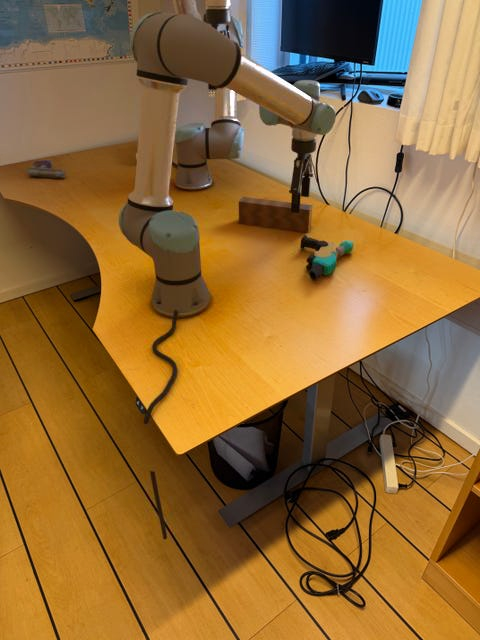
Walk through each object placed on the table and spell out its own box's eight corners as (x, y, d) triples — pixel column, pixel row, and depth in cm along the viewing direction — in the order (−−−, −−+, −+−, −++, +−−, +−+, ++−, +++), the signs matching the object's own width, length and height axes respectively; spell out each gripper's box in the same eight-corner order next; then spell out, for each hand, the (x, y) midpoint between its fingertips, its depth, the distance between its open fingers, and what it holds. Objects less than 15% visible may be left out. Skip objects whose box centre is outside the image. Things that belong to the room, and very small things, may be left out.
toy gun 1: (79, 169, 213) (62, 180, 201) (41, 166, 216) (22, 178, 205) (77, 160, 211) (60, 171, 199) (39, 158, 214) (20, 169, 202)
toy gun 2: (277, 262, 133) (328, 274, 127) (310, 227, 151) (356, 237, 146) (276, 276, 135) (326, 289, 130) (309, 240, 154) (354, 250, 148)
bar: (310, 227, 162) (312, 205, 157) (307, 232, 159) (309, 210, 154) (243, 218, 169) (242, 196, 164) (238, 223, 165) (238, 201, 161)
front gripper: (301, 126, 154) (298, 189, 167) (281, 148, 135) (279, 217, 148) (324, 127, 152) (319, 191, 165) (307, 150, 133) (302, 220, 146)
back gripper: (221, 5, 153) (223, 78, 165) (189, 10, 134) (194, 92, 146) (243, 5, 151) (243, 79, 163) (214, 10, 132) (217, 93, 144)
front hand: (300, 204), depth 156 cm, fingers open, 13 cm apart
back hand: (220, 85), depth 155 cm, fingers open, 13 cm apart
